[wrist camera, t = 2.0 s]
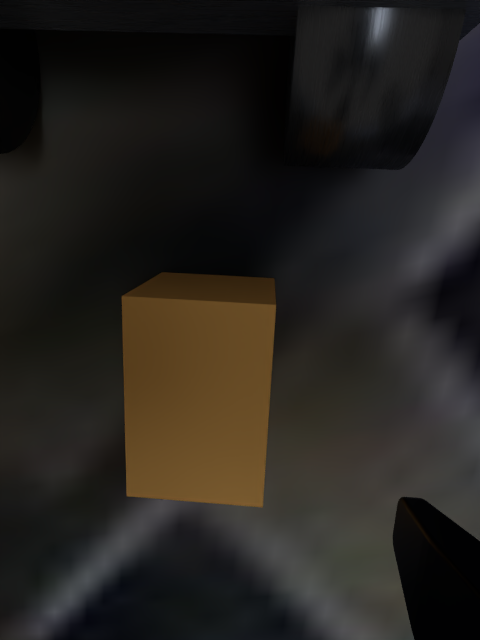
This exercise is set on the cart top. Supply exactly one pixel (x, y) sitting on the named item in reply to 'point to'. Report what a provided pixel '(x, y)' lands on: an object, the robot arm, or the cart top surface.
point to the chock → (198, 387)
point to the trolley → (303, 65)
